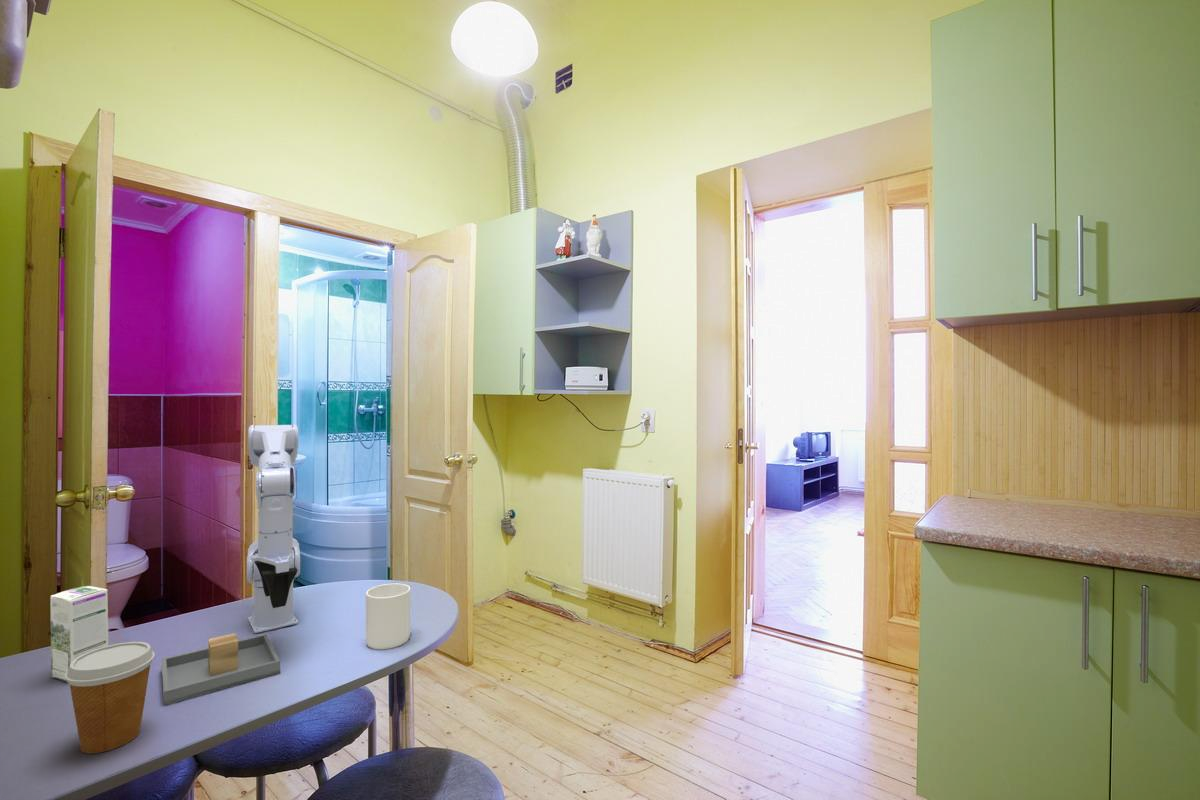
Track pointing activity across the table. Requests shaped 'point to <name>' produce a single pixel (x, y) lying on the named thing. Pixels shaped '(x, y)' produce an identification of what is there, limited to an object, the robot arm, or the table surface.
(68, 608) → the syrup box
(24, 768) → the table surface
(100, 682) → the disposable coffee cup
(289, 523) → the robot arm
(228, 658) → the block
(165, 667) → the tray
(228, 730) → the table surface
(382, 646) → the cup
